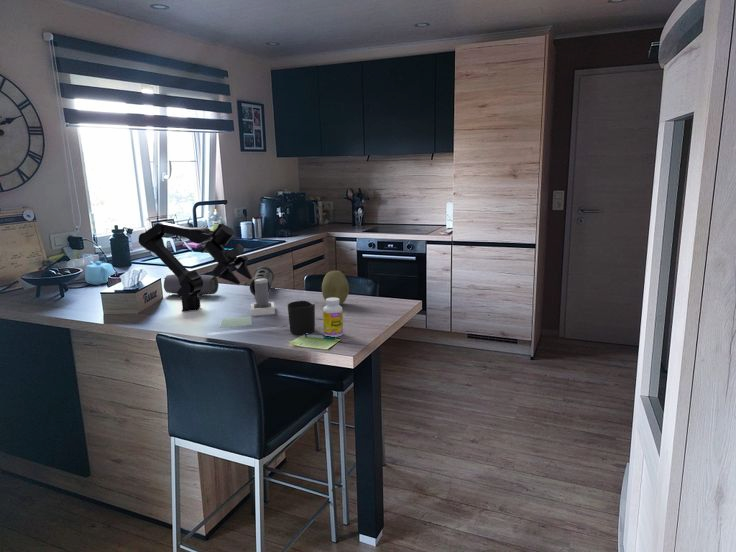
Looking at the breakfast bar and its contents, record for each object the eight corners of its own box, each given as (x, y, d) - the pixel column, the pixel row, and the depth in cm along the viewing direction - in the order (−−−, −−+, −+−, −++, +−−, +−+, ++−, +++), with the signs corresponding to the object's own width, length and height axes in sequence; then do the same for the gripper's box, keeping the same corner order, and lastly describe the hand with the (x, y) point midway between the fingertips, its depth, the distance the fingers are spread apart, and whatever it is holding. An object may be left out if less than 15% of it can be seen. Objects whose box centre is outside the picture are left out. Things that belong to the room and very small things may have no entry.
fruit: (354, 303, 214) (353, 269, 211) (338, 310, 205) (337, 274, 202) (332, 300, 220) (331, 266, 217) (316, 306, 211) (315, 271, 208)
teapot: (104, 278, 273) (102, 257, 271) (120, 283, 262) (117, 261, 260) (80, 282, 264) (77, 261, 262) (95, 287, 253) (91, 265, 250)
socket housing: (251, 318, 196) (251, 309, 195) (251, 311, 205) (250, 303, 204) (275, 316, 198) (274, 307, 197) (274, 310, 207) (273, 301, 206)
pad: (220, 330, 182) (220, 327, 182) (222, 321, 193) (221, 318, 193) (251, 327, 185) (251, 324, 184) (251, 318, 195) (251, 316, 195)
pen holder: (317, 327, 184) (316, 300, 182) (313, 335, 175) (312, 307, 172) (291, 327, 184) (290, 300, 182) (286, 335, 175) (285, 308, 173)
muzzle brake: (249, 300, 224) (248, 277, 222) (255, 285, 251) (254, 265, 249) (271, 299, 225) (270, 276, 223) (275, 284, 252) (273, 264, 250)
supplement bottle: (330, 339, 170) (329, 302, 168) (320, 334, 176) (318, 298, 173) (346, 335, 174) (345, 299, 171) (336, 330, 179) (335, 295, 177)
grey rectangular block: (256, 313, 198) (254, 281, 195) (256, 310, 203) (254, 278, 200) (269, 312, 199) (267, 280, 197) (269, 309, 204) (267, 278, 201)
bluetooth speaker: (163, 297, 230) (161, 276, 228) (175, 292, 239) (172, 271, 237) (210, 299, 226) (208, 277, 224) (219, 294, 235) (218, 272, 233)
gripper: (216, 242, 190) (245, 272, 189) (242, 235, 207) (268, 263, 206) (200, 262, 193) (228, 291, 193) (226, 254, 211) (252, 281, 210)
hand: (245, 281), depth 200 cm, fingers open, 9 cm apart
